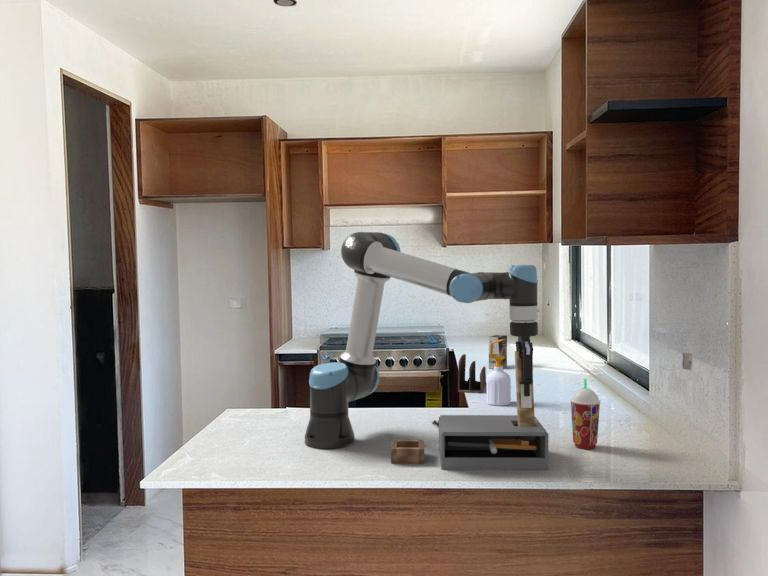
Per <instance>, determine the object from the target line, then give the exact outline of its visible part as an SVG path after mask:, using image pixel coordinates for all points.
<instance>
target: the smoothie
mask: <svg viewBox="0 0 768 576" xmlns="http://www.w3.org/2000/svg"><path fill="white" fill-rule="evenodd" d="M583 382H584V383H583V384H584V385H583V386H584V388H583V387H582V388H580V389H577V390H576V391H575V392H574V393H573V395H572V397H571V398H570V408H571V409H570V410H571V414H570V415H571V428H572V441H573V443H574V446H575V447H576V448H578V449H582V450H593V449H595V448H596V446H597V444H598V438H599V437H598V435H599V421H600V409H601V400H600V399H599V397H598V395H597V393H596V392H595V391H594V390H592V389H590V388H588V387H587V386H588V385H587V383H588V381H587V378H585V379H584V381H583Z"/></svg>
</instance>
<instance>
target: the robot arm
mask: <svg viewBox="0 0 768 576" xmlns="http://www.w3.org/2000/svg"><path fill="white" fill-rule="evenodd" d="M340 252H341V253H340V254H341V259H342V260H343V263H344V265H346V266H347V267H348V268H350V269H352V270H353V273H354V275H355V276H356V277H357V281H356V287H355V294H354V297H353V298H354V300H353V305H352V312H351V318H350V324H349V330H348V337H347V342H346V347H345V351H344V352H342V353H341V354H340V356H339V362H338V361H337V362H332V361H331V362H327V363H321V364H318V365H316V366H313V368H311V370H310V372H309V379H308V383H309V411H310V412H309V415H310V416H309V420H308V423H307V427H306V430H305V433H304V444H305V445H306V446H309V447H311V448H316V449H337V448H338V449H339V448H344V447H348V446H350V445H352V444H354V443H355V431H354V428H353V426H352V423H351V421H350V416H349V403H351V402H353V401H356V400H360V399H364V398H366V397H368V396H369V395H371V394H372V393H374V391H376V390H377V388H378V387H379V382H380V373H379V370H378V367H377V366H376V364H377V360H376V358H375V357H374V356H373V353H374V347H375V342H376V335H377V330H378V323H379V318H380V312H381V305H382V301H383V296H384V295H383V294H384V289H385V288H384V287H385V283H386V282H387V281H389V280H391V278H393V279H396V280H399V281H402V282H405V283H408V284H411V285H414V286H418V287H421V288H425V289H428V290H430V291H434V292H438V293H441V294H444V295H445V296H448V297H452V298H453V300H455V301H456V302H459V303H464V304H471V303H472V304H473V303H474V302H480V301H486V300H509V305H508V306H509V308H508V309H509V312H508V313H509V320H510V321H511V322H509V334H510V336H512V337H517V341H515V351H519V358H520V359H521V375H522V382H519V384H521V408H532V395H531V384H532V383H533V384H534V373H533V372H534V368H533V367H534V363H533V362H534V361H533V359H534V358H533V355H534V354H533V353H534V346H533V342H531V337H536V336H538V334H539V323H538V322H537V321H538V313H540V308H538V271H537V267H536V266H535V265H533V264H514V265H513V264H512V265H510V266H508V271H505V272H492V271H491V272H488V271H487V272H485V271H478V272H469V271H465V270H463V269H458V268H454V267H452V266H448V265H445V264H441V263H438V262H434V261H430V260H429V259H428V260H427V259H425V258H421V257H418V256H416V255H415V256H414V255H412V254H408V253H404V252H401V248H400V244H399V243H398V241H397V240H396V238H394V236H392V235H391V234H388V233H383V232H379V231H377V232H375V231H372V232H371V231H368V232H367V231H357V232H354V233H351V234H349V235H348V236H347V237H346V238H345V239H344V240H343V241H342V245H341V249H340ZM521 353H522V355H523V356H522V355H521Z"/></svg>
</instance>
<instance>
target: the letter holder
mask: <svg viewBox="0 0 768 576" xmlns="http://www.w3.org/2000/svg"><path fill="white" fill-rule="evenodd" d="M466 361H467V355H466V354H465V353H464V354H462V355H461V356H460V358H459V360H458V367H457V369H458V371H457V393H469V394H471V393H472V394H482V393H483V391H484V389H485V387H486V386H487V374H486V373H487V370H486V369H487V368H486V366H483V367H482V368H481V370H480V372H479V373H480V374H479V381H477V379H476V360H473V361H472V362H471V363H470V366H469V368H468V369H469V370H468V371H469V372H468V374H469V375H468V376H469V377H468V378H467V380H466V365H467V364H466V363H467V362H466Z"/></svg>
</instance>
